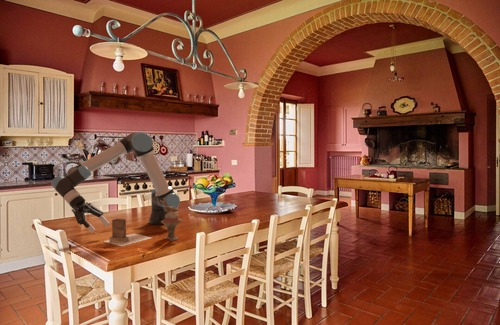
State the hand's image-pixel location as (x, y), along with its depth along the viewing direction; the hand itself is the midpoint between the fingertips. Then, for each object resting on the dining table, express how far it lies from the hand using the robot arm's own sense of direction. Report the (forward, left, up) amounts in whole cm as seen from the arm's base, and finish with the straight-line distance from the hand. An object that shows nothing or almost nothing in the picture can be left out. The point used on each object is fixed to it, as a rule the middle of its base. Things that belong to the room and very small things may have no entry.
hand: (101, 228), depth 188 cm
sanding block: (-4, +10, -7) cm, 13 cm away
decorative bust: (-28, +25, -8) cm, 38 cm away
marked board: (-10, +10, -8) cm, 16 cm away
